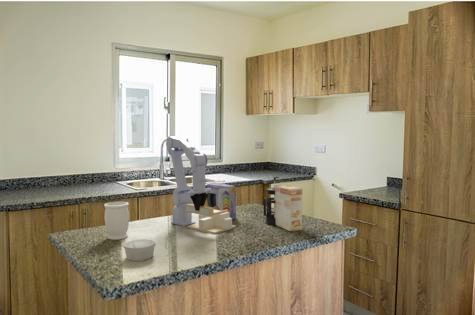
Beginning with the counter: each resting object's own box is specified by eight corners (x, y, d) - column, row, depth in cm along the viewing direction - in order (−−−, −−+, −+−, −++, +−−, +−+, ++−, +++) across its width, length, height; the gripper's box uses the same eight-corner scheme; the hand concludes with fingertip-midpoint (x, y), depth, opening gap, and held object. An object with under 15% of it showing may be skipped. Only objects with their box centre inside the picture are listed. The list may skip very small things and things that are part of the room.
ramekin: (117, 258, 143) (117, 244, 143) (140, 250, 152) (140, 237, 152) (138, 264, 137) (138, 249, 137) (161, 255, 146) (161, 242, 146)
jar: (104, 235, 174) (103, 202, 173) (128, 233, 177) (127, 200, 176) (105, 242, 164) (104, 206, 163) (131, 239, 168) (130, 204, 166)
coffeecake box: (302, 229, 181) (303, 188, 180) (289, 231, 178) (289, 189, 177) (285, 222, 195) (286, 183, 193) (273, 224, 192) (273, 184, 191)
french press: (289, 222, 195) (289, 176, 193) (278, 226, 188) (278, 178, 186) (270, 219, 202) (269, 175, 201) (259, 222, 195) (258, 176, 194)
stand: (208, 221, 198) (208, 208, 197) (236, 227, 187) (236, 212, 186) (186, 227, 186) (186, 213, 186) (214, 234, 175) (214, 218, 174)
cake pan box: (206, 214, 214) (206, 182, 213) (213, 213, 217) (213, 181, 216) (229, 220, 200) (229, 186, 198) (236, 219, 203) (236, 185, 202)
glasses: (203, 207, 193) (203, 200, 193) (228, 211, 183) (228, 204, 183) (185, 211, 184) (185, 204, 184) (210, 216, 174) (210, 208, 173)
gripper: (193, 183, 170) (193, 213, 171) (216, 179, 181) (216, 208, 183) (182, 181, 175) (183, 211, 176) (205, 178, 186) (205, 206, 187)
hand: (199, 209), depth 180 cm, fingers closed on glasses, 2 cm apart
